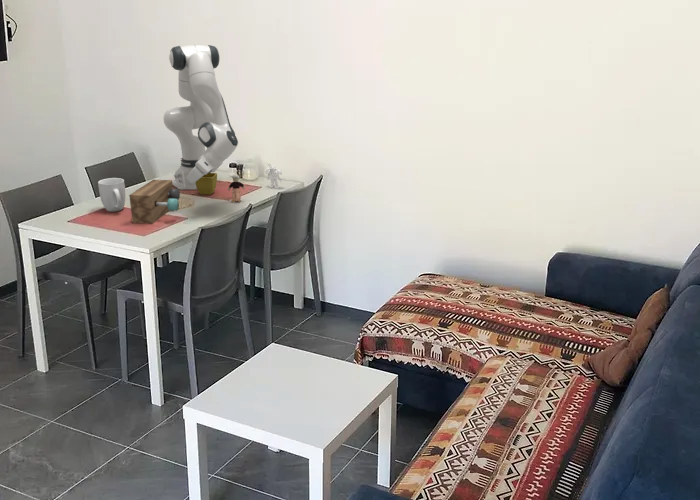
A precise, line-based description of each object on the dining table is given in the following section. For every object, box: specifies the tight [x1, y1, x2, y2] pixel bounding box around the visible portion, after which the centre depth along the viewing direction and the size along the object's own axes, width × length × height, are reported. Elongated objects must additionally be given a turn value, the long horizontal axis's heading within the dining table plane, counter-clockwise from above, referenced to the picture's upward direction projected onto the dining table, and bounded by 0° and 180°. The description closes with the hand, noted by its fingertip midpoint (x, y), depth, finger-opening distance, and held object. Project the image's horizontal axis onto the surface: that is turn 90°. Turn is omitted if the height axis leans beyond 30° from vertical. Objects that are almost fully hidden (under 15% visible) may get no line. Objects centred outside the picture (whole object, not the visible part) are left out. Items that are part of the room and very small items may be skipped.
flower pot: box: [196, 172, 218, 196], centre depth 357 cm, size 9×9×9 cm
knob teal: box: [156, 198, 179, 211], centre depth 318 cm, size 8×5×5 cm, turn 81°
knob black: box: [168, 188, 181, 201], centre depth 333 cm, size 8×5×5 cm, turn 81°
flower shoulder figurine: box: [264, 163, 283, 189], centre depth 365 cm, size 9×4×12 cm, turn 61°
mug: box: [97, 177, 126, 212], centre depth 332 cm, size 15×11×13 cm
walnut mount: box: [129, 179, 174, 224], centre depth 327 cm, size 9×25×12 cm, turn 171°
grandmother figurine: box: [227, 173, 246, 203], centre depth 344 cm, size 8×4×13 cm, turn 112°
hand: (189, 183), depth 329 cm, fingers closed
